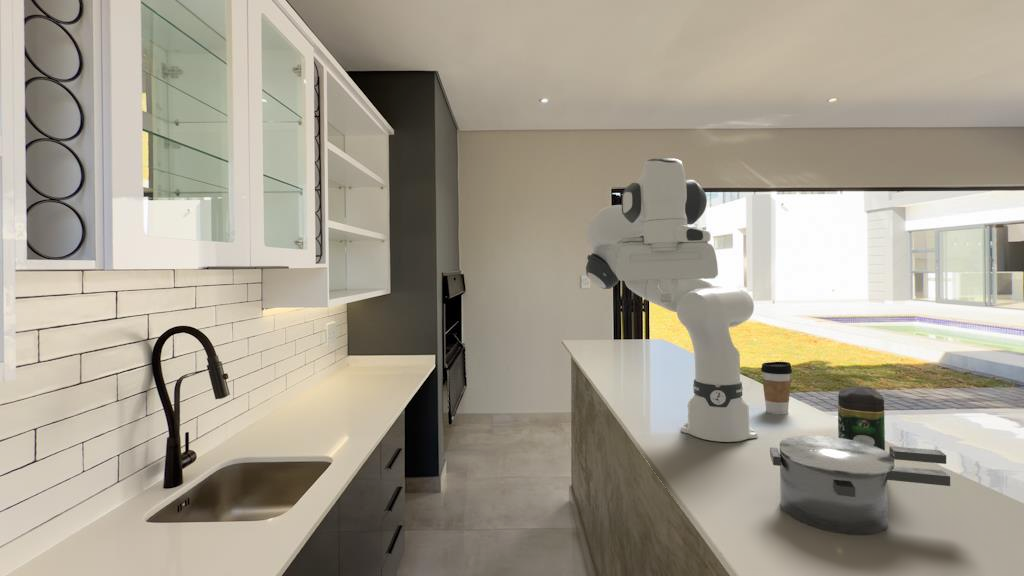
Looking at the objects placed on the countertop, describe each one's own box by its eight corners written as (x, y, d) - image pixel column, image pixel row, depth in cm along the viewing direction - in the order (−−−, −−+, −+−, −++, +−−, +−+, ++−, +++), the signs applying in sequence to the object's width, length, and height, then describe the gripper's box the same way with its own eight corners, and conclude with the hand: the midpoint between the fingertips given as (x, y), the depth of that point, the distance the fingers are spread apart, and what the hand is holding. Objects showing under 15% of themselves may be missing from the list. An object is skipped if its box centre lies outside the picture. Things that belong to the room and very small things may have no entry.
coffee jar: (838, 466, 111) (837, 381, 110) (883, 473, 106) (882, 385, 106) (839, 482, 102) (837, 391, 102) (887, 490, 98) (886, 395, 98)
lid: (774, 437, 101) (774, 426, 101) (922, 449, 92) (922, 437, 92) (786, 468, 85) (786, 455, 85) (967, 486, 76) (967, 471, 76)
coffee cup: (798, 415, 150) (797, 365, 150) (769, 416, 150) (769, 365, 150) (783, 408, 159) (783, 360, 158) (756, 408, 159) (755, 361, 159)
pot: (766, 481, 103) (765, 433, 103) (921, 499, 94) (921, 445, 94) (779, 532, 83) (779, 472, 83) (979, 560, 74) (979, 492, 74)
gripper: (612, 237, 106) (613, 303, 107) (717, 231, 99) (718, 302, 99) (617, 239, 112) (618, 301, 113) (717, 233, 105) (718, 300, 105)
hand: (666, 301), depth 106 cm, fingers closed
